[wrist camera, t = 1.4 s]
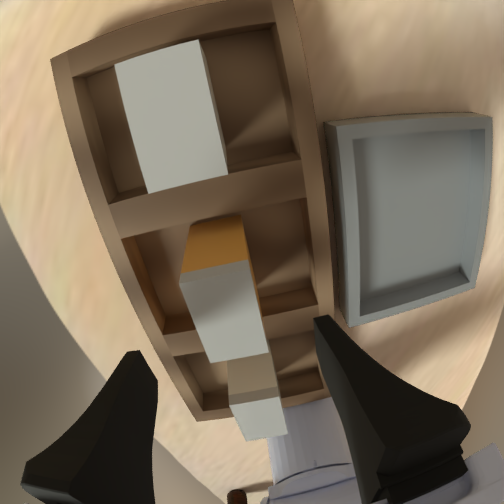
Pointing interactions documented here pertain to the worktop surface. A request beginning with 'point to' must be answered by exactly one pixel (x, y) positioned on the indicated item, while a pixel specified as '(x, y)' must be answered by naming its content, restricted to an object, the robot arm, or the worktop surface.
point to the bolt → (237, 497)
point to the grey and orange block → (222, 290)
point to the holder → (213, 188)
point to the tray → (408, 208)
